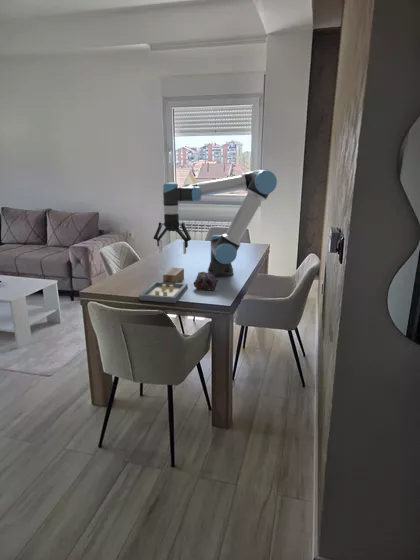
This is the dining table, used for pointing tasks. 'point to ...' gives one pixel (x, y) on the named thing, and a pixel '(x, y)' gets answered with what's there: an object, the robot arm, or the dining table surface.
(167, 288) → the grey shallow tray
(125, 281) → the dining table surface
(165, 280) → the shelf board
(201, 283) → the rock
